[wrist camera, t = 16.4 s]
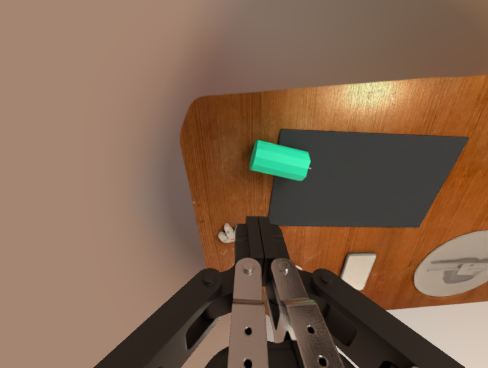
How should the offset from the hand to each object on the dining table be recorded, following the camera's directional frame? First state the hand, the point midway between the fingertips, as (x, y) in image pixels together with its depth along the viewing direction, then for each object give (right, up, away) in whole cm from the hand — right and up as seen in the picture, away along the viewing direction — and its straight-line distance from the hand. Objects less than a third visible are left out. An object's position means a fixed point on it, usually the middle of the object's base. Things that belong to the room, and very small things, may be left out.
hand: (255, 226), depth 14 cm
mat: (+26, +3, +35) cm, 44 cm away
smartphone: (+32, -23, +50) cm, 63 cm away
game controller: (-3, -11, +42) cm, 43 cm away
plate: (+65, -22, +51) cm, 86 cm away
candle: (+1, +9, +27) cm, 29 cm away
